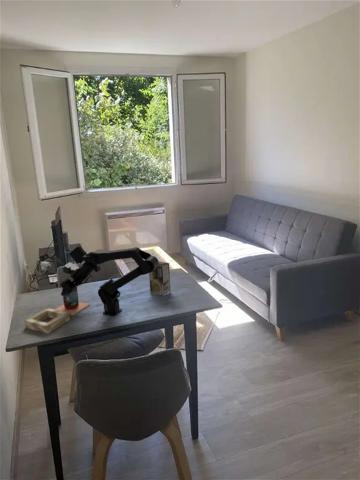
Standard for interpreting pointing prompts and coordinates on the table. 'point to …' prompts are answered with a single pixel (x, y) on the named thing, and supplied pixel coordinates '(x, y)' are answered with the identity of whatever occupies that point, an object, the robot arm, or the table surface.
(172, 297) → the table surface
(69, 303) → the beverage can
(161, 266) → the coffee box
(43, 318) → the holder
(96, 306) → the table surface
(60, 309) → the mat
